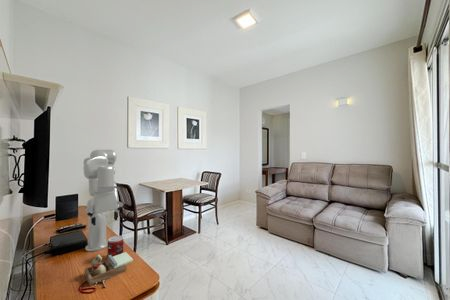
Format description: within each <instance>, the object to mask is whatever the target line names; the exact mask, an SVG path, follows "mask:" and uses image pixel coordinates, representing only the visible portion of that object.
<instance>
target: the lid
mask: <svg viewBox="0 0 450 300" xmlns="http://www.w3.org/2000/svg"><path fill="white" fill-rule="evenodd" d="M107 260H109V262H110V263H111V264H112V266H113V267H114V268H117V267H119V266H122V265H124V264H125V265H127V264H129V263H132V262H133V261H134V259H133V258H132V256H130V255H129V254H128V252H126V251H125V252H124V251H123V253H122V254H119V255H116V256H113V257H112V256H111V255H108V254H107Z"/></svg>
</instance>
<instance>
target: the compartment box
mask: <svg viewBox="0 0 450 300" xmlns="http://www.w3.org/2000/svg"><path fill="white" fill-rule="evenodd" d="M101 264H102V265H104V266H105V268H106V271H107V272H104V273H102V274H99V275H97V276H93V275H92V274H93V272H92V268H93V267H92V265H91V266H89V267H85V268H84V277H85V278H86V282H87V283H88V285H89V287H92V286H94V285H95V284H94V283H96V282H98V281H100V280H104V281H106V280H109V279H110V278H113V277H115V276H117V275H120V274H122V273H125V272H127V270H126V269H127V267H126V265H127V264H124V265H122V266H119V267H117V268H114V267H113V266H112V264H111V263H110V262H109V260H108V259H107V260H104V261H101ZM93 284H94V285H93Z"/></svg>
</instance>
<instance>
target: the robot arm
mask: <svg viewBox="0 0 450 300" xmlns="http://www.w3.org/2000/svg"><path fill="white" fill-rule="evenodd" d="M116 161H117V153H116V152H115V150H113V149H94V150H93V151H91V152H90V154H89V157H86V158H84V159H83V168H82V169H83V175H84V177H85V178H86V179H87V180H88V192H89V195H90V197H93V198H91V199H89V200H88V201H87V202H86V208H84V212H85V213H86V215H87V217H88V242H87V243H88V244H87V245H85V248H84V249H85V251H87V252H96V251H100V250H102V249H105V248H108V240H107V216H106V215H105V214H103V213H105V212H111V211H113V212H114V213H113V219H114V221H118V218H119V212H120V211H121V210H122V208H123V207H124V202H122V201H119V193H118V186H117V183H116V182H115V174H116V167H115V163H116Z"/></svg>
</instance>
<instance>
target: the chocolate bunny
mask: <svg viewBox="0 0 450 300" xmlns="http://www.w3.org/2000/svg"><path fill="white" fill-rule="evenodd" d="M101 262H103V257H102V256H101V255H100V254H97V255H96V256H95V258H93V259H92V260H91V266H92V267H93V268H92V272H93V274H92V275H93V276H97V275H99V274H102V273H104V272H107V271H106V268H105V266H104V265H102V264H101Z"/></svg>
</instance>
